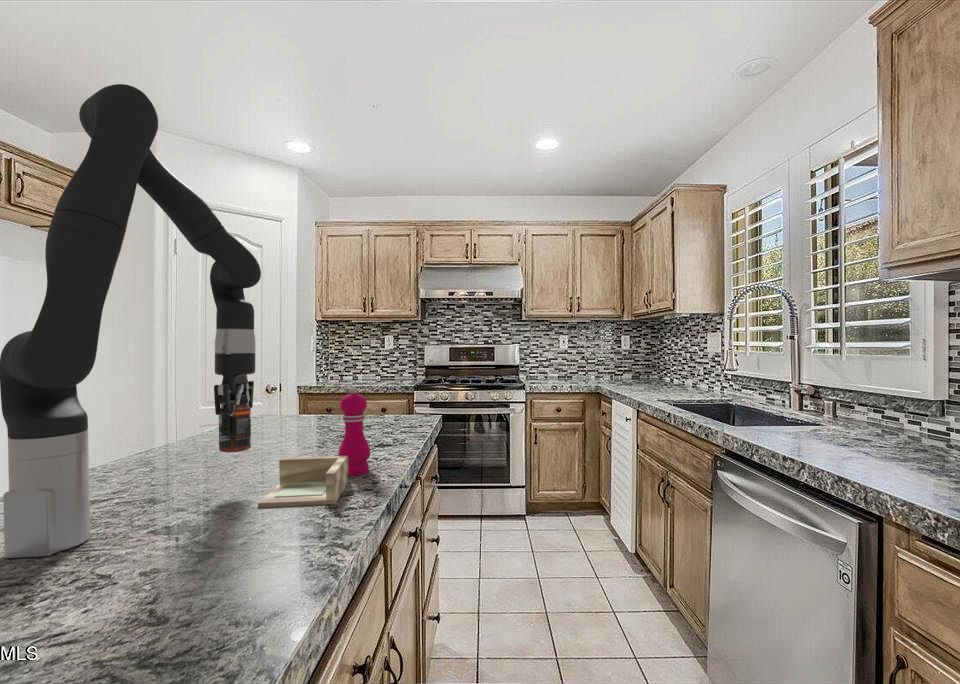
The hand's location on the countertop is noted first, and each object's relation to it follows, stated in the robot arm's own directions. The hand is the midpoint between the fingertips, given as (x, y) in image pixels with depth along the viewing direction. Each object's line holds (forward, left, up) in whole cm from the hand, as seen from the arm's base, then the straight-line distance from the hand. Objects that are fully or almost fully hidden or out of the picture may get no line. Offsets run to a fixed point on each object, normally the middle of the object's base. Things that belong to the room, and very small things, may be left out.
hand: (235, 432), depth 99 cm
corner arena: (-4, -15, -12) cm, 20 cm away
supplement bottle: (0, 0, -4) cm, 4 cm away
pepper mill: (+11, -22, -12) cm, 28 cm away
